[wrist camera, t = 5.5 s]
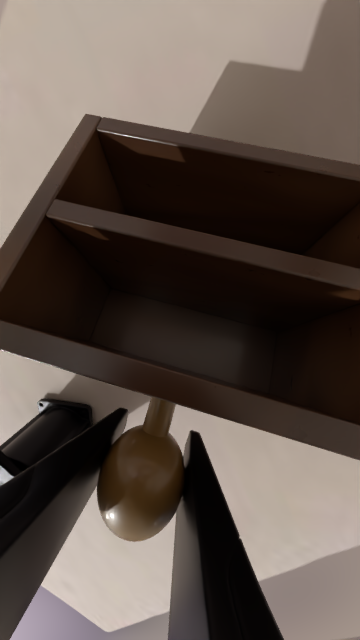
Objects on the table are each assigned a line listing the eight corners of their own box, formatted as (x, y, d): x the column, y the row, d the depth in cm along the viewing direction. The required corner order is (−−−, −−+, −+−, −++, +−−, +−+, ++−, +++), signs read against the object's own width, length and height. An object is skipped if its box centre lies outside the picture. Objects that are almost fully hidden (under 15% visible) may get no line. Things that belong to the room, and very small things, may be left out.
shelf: (262, 494, 9) (447, 789, 3) (49, 423, 10) (-178, 524, 4) (291, 269, 13) (404, 172, 6) (130, 231, 14) (85, 112, 7)
